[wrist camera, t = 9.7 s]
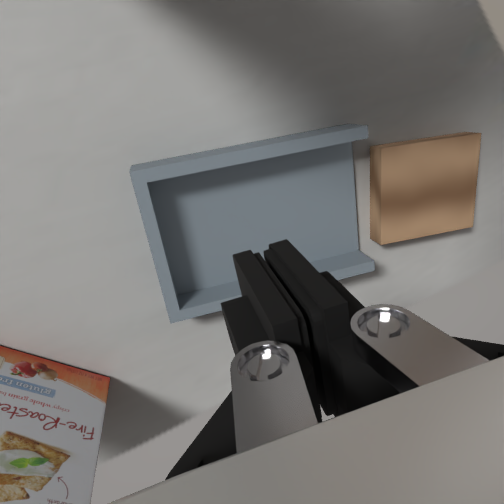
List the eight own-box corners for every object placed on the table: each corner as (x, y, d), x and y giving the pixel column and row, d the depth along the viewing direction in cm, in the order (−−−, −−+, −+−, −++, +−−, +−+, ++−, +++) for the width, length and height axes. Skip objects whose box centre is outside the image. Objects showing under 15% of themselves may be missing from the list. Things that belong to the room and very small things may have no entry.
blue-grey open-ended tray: (131, 165, 33) (129, 171, 29) (348, 123, 36) (367, 125, 32) (168, 304, 37) (170, 323, 34) (357, 257, 40) (374, 270, 37)
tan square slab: (367, 145, 37) (381, 148, 35) (462, 131, 39) (481, 133, 37) (368, 237, 40) (381, 244, 38) (455, 220, 42) (472, 226, 40)
